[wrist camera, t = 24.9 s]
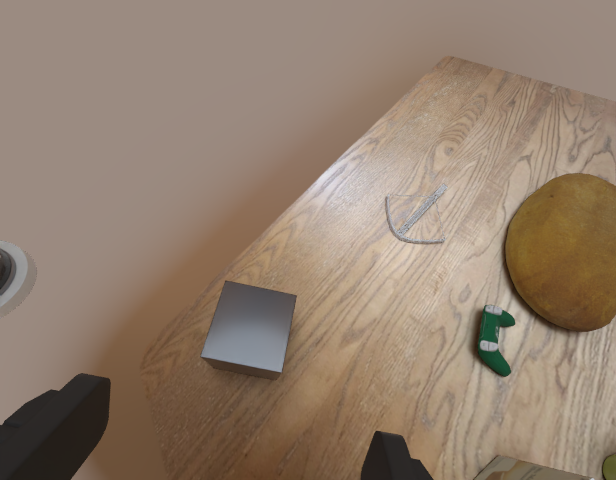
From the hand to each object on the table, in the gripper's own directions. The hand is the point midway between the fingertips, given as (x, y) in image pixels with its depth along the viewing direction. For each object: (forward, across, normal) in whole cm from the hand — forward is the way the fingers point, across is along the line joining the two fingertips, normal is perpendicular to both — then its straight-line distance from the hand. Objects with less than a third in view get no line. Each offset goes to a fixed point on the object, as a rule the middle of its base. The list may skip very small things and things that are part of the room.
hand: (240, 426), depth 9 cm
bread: (+46, -48, -3) cm, 67 cm away
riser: (+27, +2, +16) cm, 32 cm away
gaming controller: (+32, -32, +11) cm, 47 cm away
